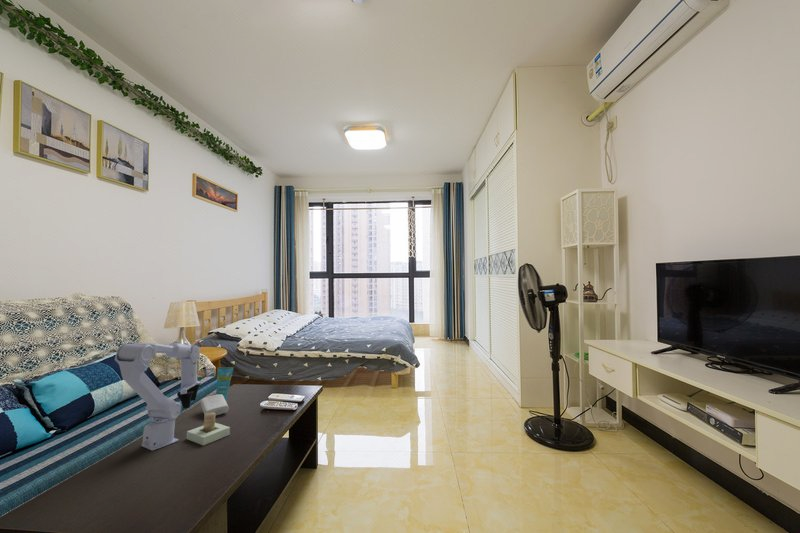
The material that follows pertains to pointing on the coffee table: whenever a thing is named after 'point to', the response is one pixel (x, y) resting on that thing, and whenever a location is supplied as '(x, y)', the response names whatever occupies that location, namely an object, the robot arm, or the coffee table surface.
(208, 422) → the peg
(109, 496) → the coffee table surface
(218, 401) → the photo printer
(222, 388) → the tube
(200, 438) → the socket
